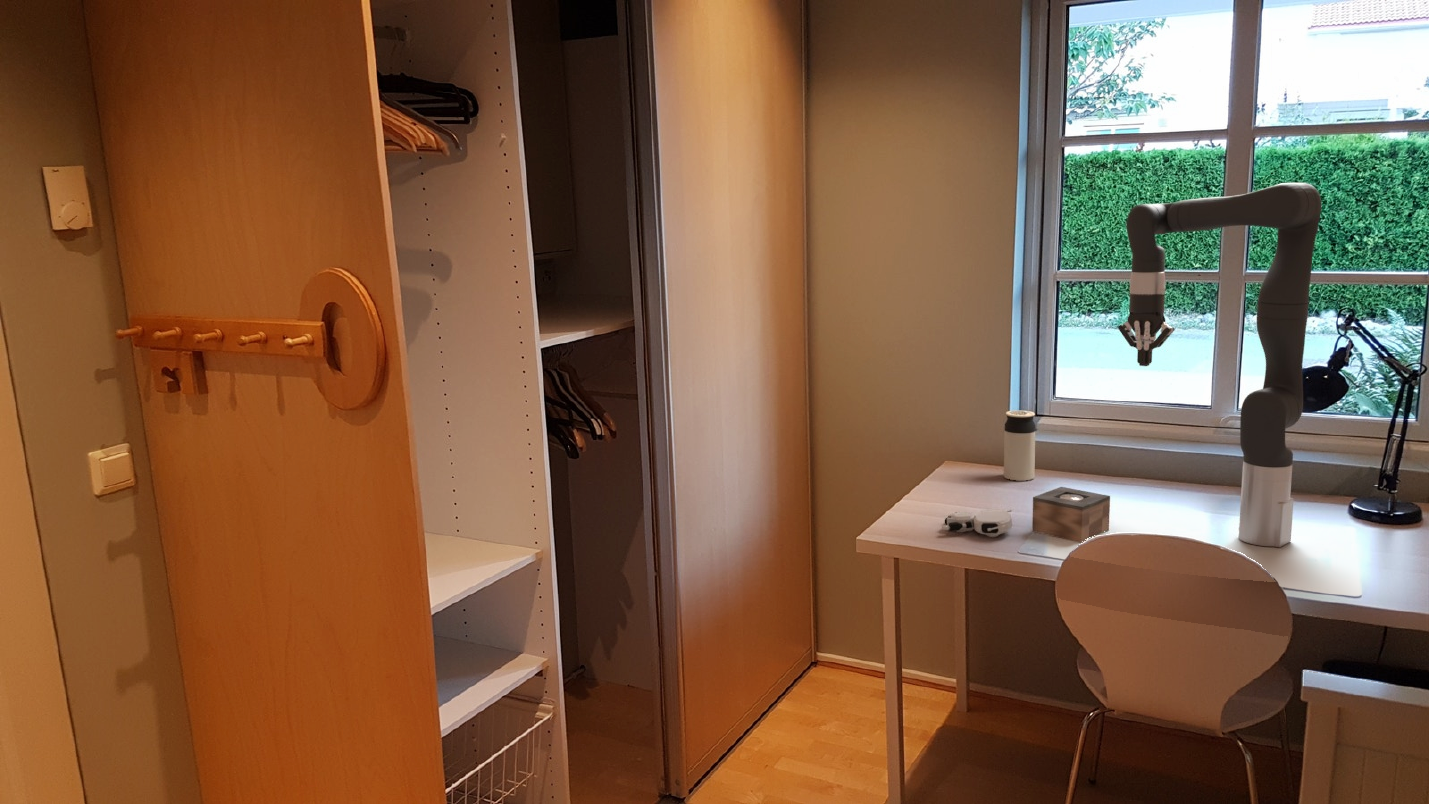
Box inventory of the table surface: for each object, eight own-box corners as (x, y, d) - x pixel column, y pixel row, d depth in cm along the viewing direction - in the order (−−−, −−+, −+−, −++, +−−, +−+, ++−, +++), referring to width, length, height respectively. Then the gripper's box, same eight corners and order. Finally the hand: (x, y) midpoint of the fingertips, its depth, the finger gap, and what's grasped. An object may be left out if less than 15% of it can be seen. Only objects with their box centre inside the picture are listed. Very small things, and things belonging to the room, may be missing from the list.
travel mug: (1005, 481, 273) (1006, 415, 270) (1002, 474, 281) (1003, 410, 278) (1036, 481, 272) (1037, 415, 269) (1032, 474, 280) (1033, 410, 276)
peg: (1086, 530, 230) (1087, 497, 228) (1074, 535, 226) (1075, 501, 225) (1066, 525, 233) (1067, 493, 232) (1054, 530, 230) (1055, 497, 229)
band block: (1108, 530, 229) (1110, 495, 228) (1081, 542, 221) (1082, 507, 220) (1060, 519, 238) (1061, 486, 237) (1032, 531, 230) (1033, 497, 229)
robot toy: (940, 541, 229) (1009, 542, 223) (939, 521, 228) (1008, 522, 222) (949, 525, 240) (1015, 526, 234) (948, 506, 239) (1014, 507, 233)
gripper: (1111, 292, 238) (1109, 365, 241) (1168, 293, 228) (1164, 370, 231) (1127, 289, 242) (1125, 361, 246) (1183, 291, 233) (1179, 366, 236)
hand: (1144, 365), depth 238 cm, fingers closed
